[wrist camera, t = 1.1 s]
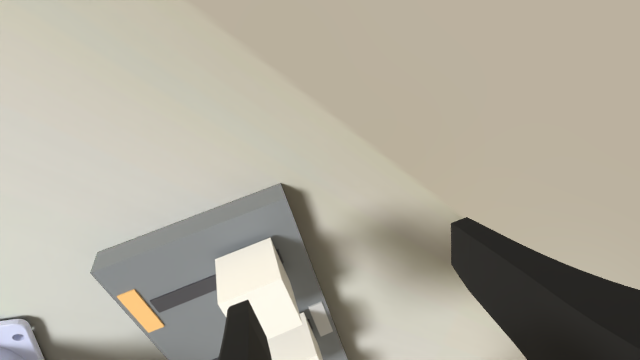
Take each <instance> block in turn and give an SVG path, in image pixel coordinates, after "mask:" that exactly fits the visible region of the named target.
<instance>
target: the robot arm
mask: <svg viewBox="0 0 640 360" xmlns="http://www.w3.org/2000/svg"><path fill="white" fill-rule="evenodd" d="M451 264H452V266H453V268H454V269H455V271H456V272H457V274H458V275H459V277H460V278H461V280H462V281H463V283H464V284H465V286H466V287H467V288H468V290H469V291H470V292H471V294H472V295H473V296H474V297H475V298H476V299H477V301H478V302H479V303H480V304H481V305H482V306H483V308H484V309H485V310H486V311H487V312H488V313H489V315H490V316H491V317H492V318H493V319H494V320H495V322H496V323H497V324H498V325H499V326H500V327H501V329H502V330H503V331H504V332H505V333H506V334H507V335H508V337H509V338H510V339H511V340H512V341H513V342H514V344H515V345H516V346H517V347H518V349H519V350H520V351H521V352H522V354H523V355H524V356H525V357H526V359H527V360H640V290H638V289H634V288H631V287H628V286H624V285H621V284H618V283H615V282H612V281H609V280H606V279H603V278H601V277H598V276H595V275H592V274H589V273H587V272H584V271H581V270H578V269H576V268H574V267H571V266H569V265H566V264H564V263H561V262H559V261H557V260H554V259H552V258H550V257H547V256H545V255H543V254H541V253H538V252H536V251H534V250H532V249H530V248H527V247H526V246H523V245H521V244H519V243H517V242H515V241H513V240H511V239H509V238H507V237H505V236H503V235H501V234H499V233H497V232H495V231H493V230H491V229H489V228H487V227H485V226H483V225H481V224H479V223H477V222H476V221H474V220H472V219H469V218H467V217H466V218H464V219H461V220H458V221H456V222H453V223H451ZM20 334H21V335H20ZM0 360H45V359H44V357H43V354H42V352H41V350H40V348H39V345H38V343H37V341H36V338H35V336H34V334H33V331H32V329H31V327H30V324H29V323H28V322H27V321H25V320H23V319H12V320H5V321H0ZM218 360H272V358H271V353H270V349H269V345H268V341H267V337H266V335H265V333H264V331H263V328H262V326H261V324H260V322H259V320H258V318H257V316H256V314H255V312H254V310H253V308H252V306H251V304H250V302H249V300H245V301H243V302H240V303H237V304H235V305H232V306H230V307H229V308H228V310H227V317H226V323H225V329H224V334H223V339H222V344H221V349H220V353H219V357H218Z"/></svg>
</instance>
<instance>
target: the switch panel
mask: <svg viewBox="0 0 640 360" xmlns="http://www.w3.org/2000/svg"><path fill="white" fill-rule="evenodd" d="M268 238H271V240H272V242H273V245H274V247H275V249H276V251H277V254H278V256H279V258H280V260H281V263H282V265H283V267H284V269H285V272H286V274H287V276H288V278H289V280H290V283H291V286H292V290H293V293H294V297H295V300H296V303H297V307H298V310H299V314H301V313H303V312H304V314H305V316H306V319H307V321H308V323H309V325H310V328H311V330H312V332H313V334H314V336H315V339H316V341H317V343H318V346H319V349H320V352H321V355H322V358H323V360H348V359H347V356H346V354H345V351H344V348H343V346H342V343H341V340H340V338H339V335H338V333H337V330H336V327H335V325H334V322H333V319H332V317H331V314H330V312H329V309H328V306H327V304H326V301H325V298H324V296H323V293H322V291H321V288H320V285H319V283H318V280H317V277H316V275H315V272H314V270H313V267H312V264H311V262H310V259H309V256H308V254H307V251H306V249H305V246H304V243H303V241H302V238H301V235H300V233H299V230H298V228H297V225H296V222H295V220H294V217H293V214H292V212H291V209H290V207H289V204H288V201H287V199H286V196H285V193H284V191H283V188H282V186H281V183H280V184H277V185H275V186H272V187H269V188H267V189H264V190H261V191H259V192H256V193H253V194H251V195H248V196H246V197H243V198H240V199H238V200H235V201H232V202H230V203H227V204H224V205H222V206H219V207H216V208H214V209H211V210H209V211H206V212H203V213H201V214H198V215H195V216H193V217H190V218H187V219H185V220H182V221H179V222H177V223H174V224H172V225H169V226H166V227H164V228H161V229H158V230H156V231H153V232H150V233H148V234H145V235H142V236H140V237H137V238H135V239H132V240H129V241H127V242H124V243H121V244H119V245H116V246H113V247H111V248H108V249H105V250H103V251H100V252H98V253H97V255H96V258H95V261H94V264H93V266H92V269H91V272H90V273H91V274H92V276H93V277H94V278H95V279H96V280H97V281H98V282H99V283H100V284H101V286H102V287H103V288H104V289H105V290H106V291H107V292H108V293H109V294H110V296H111V297H112V298H113V299H114V300H115V301H116V302H117V303H118V304H119V306H120V307H121V308H122V309H123V310H124V311H125V312H126V313H127V315H128V316H129V317H130V318H131V319H132V320H133V321H134V322H135V323H136V325H137V326H138V327H139V328H140V329H141V330H142V331H143V332H144V333H145V335H146V336H147V337H148V338H149V339H150V340H151V341H152V342H153V343H154V345H155V346H156V347H157V348H158V349H159V350H160V351H161V352H162V353H163V355H164V356H165V357H166V358H167V359H168V360H218V357H219V353H220V349H221V344H222V339H223V334H224V329H225V323H226V316H225V315H224V313H223V312H222V310H221V309H220V307H219V306H218V300H217V284H216V268H215V259H217V258H219V257H222V256H225V255H227V254H230V253H232V252H235V251H237V250H240V249H242V248H245V247H247V246H250V245H253V244H255V243H258V242H260V241H263V240H265V239H268Z"/></svg>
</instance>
